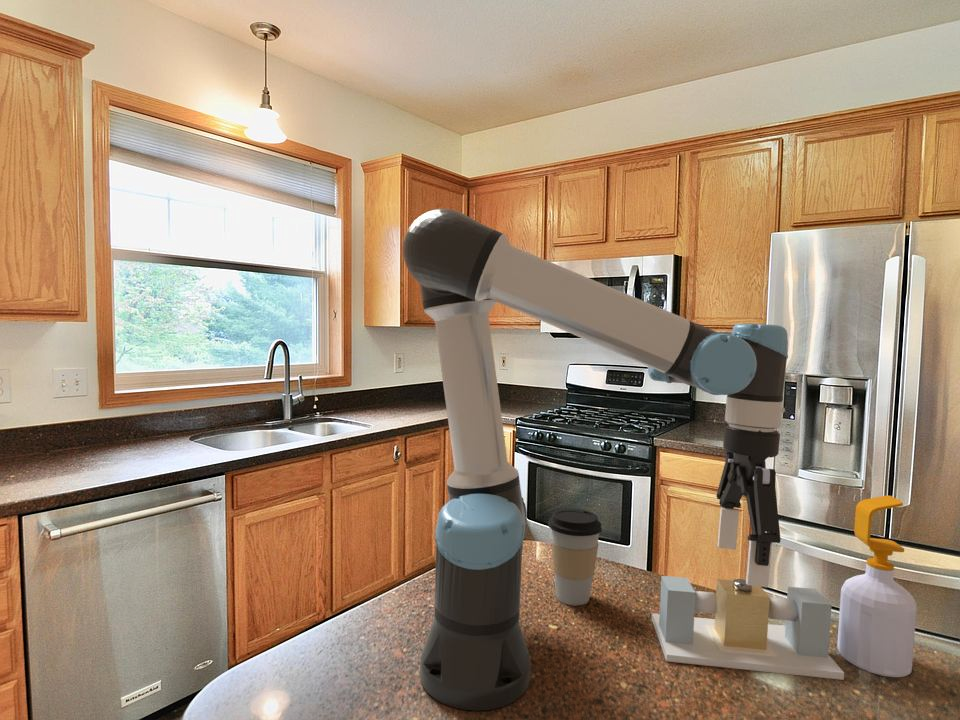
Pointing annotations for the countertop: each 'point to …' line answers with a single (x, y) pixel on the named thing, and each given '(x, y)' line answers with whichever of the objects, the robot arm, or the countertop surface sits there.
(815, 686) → the countertop surface
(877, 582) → the soap bottle
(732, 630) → the block
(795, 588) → the shaft rig
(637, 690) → the countertop surface
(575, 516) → the coffee cup
